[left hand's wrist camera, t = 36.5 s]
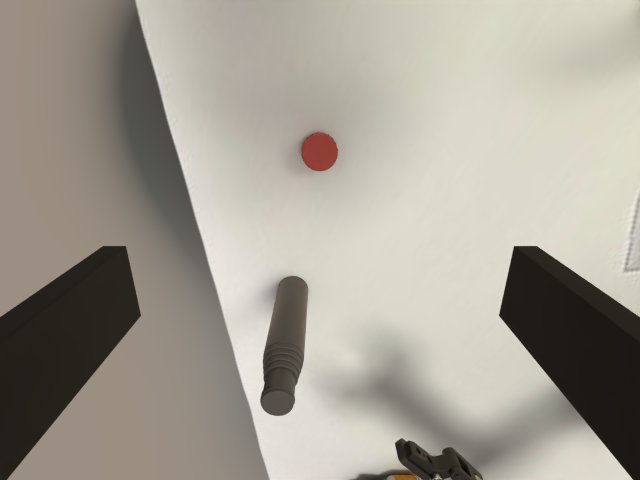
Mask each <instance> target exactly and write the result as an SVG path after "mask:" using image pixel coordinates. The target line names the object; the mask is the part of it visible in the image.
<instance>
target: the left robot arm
mask: <svg viewBox="0 0 640 480" xmlns="http://www.w3.org/2000/svg"><path fill="white" fill-rule="evenodd" d="M140 316H141V314H140V309H139V305H138V300H137V295H136V291H135V286H134V282H133V277H132V272H131V268H130V263H129V259H128V254H127V249H126V246H103V247H101V248H100V249H98V250H97V251H95V252H94V253H93V254H91V255H90V256H88V257H87V258H85V259H84V260H83V261H81V262H80V263H78V264H77V265H75V266H74V267H72V268H71V269H69V270H68V271H67V272H65V273H64V274H62V275H61V276H59V277H58V278H56V279H55V280H53V281H52V282H51V283H49V284H48V285H46V286H45V287H43V288H42V289H40V290H39V291H38V292H36V293H35V294H33V295H32V296H30V297H29V298H28V299H26V300H25V301H23V302H22V303H20V304H19V305H17V306H16V307H14V308H13V309H11V310H10V311H9V312H7V313H6V314H4V315H3V316H1V317H0V480H7V479H8V478H9V476H10V475H11V474H12V473H13V471H14V470H15V469H16V468H17V467H18V465H19V464H20V463H21V462H22V460H23V459H24V458H25V457H26V456H27V454H28V453H29V452H30V451H31V449H32V448H33V447H34V446H35V445H36V443H37V442H38V441H39V440H40V438H41V437H42V436H43V435H44V434H45V432H46V431H47V430H48V429H49V427H50V426H51V425H52V424H53V422H54V421H55V420H56V419H57V418H58V416H59V415H60V414H61V413H62V411H63V410H64V409H65V408H66V407H67V405H68V404H69V403H70V402H71V400H72V399H73V398H74V397H75V396H76V394H77V393H78V392H79V391H80V389H81V388H82V387H83V386H84V385H85V383H86V382H87V381H88V380H89V378H90V377H91V376H92V375H93V373H94V372H95V371H96V370H97V369H98V367H99V366H100V365H101V364H102V363H103V361H104V360H105V359H106V358H107V356H108V355H109V354H110V353H111V352H112V350H113V349H114V348H115V347H116V345H117V344H118V343H119V342H120V340H121V339H122V338H123V337H124V336H125V334H126V333H127V332H128V331H129V330H130V328H131V327H132V326H133V325H134V323H135V322H136V321H137V320H138V318H139V317H140ZM499 316H500V317H501V319H502V320H503V321H504V322H505V323H506V325H507V326H508V327H509V328H510V330H511V331H512V332H513V333H514V334H515V336H516V337H517V338H518V339H519V341H520V342H521V343H522V344H523V345H524V347H525V348H526V349H527V350H528V352H529V353H530V354H531V355H532V356H533V358H534V359H535V360H536V361H537V363H538V364H539V365H540V366H541V367H542V369H543V370H544V371H545V372H546V374H547V375H548V376H549V377H550V378H551V380H552V381H553V382H554V383H555V385H556V386H557V387H558V388H559V389H560V391H561V392H562V393H563V394H564V396H565V397H566V398H567V399H568V400H569V402H570V403H571V404H572V405H573V407H574V408H575V409H576V410H577V412H578V413H579V414H580V415H581V416H582V418H583V419H584V420H585V421H586V423H587V424H588V425H589V426H590V427H591V429H592V430H593V431H594V432H595V434H596V435H597V436H598V437H599V438H600V440H601V441H602V442H603V443H604V445H605V446H606V447H607V448H608V449H609V451H610V452H611V453H612V454H613V456H614V457H615V458H616V459H617V460H618V462H619V463H620V464H621V465H622V467H623V468H624V469H625V470H626V471H627V473H628V474H629V475H630V476H631V478H632V479H633V480H640V317H639V316H637V315H636V314H634V313H633V312H631V311H630V310H629V309H627V308H626V307H624V306H623V305H621V304H620V303H618V302H617V301H616V300H614V299H613V298H611V297H610V296H608V295H607V294H605V293H604V292H602V291H601V290H600V289H598V288H597V287H595V286H594V285H592V284H591V283H589V282H588V281H587V280H585V279H584V278H582V277H581V276H579V275H578V274H576V273H575V272H573V271H572V270H571V269H569V268H568V267H566V266H565V265H563V264H562V263H560V262H559V261H558V260H556V259H555V258H553V257H552V256H550V255H549V254H547V253H546V252H545V251H543V250H542V249H540V248H539V247H537V246H514V249H513V254H512V258H511V263H510V268H509V272H508V277H507V281H506V286H505V291H504V295H503V300H502V304H501V309H500V314H499Z"/></svg>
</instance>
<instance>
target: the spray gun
mask: <svg viewBox="0 0 640 480" xmlns="http://www.w3.org/2000/svg"><path fill="white" fill-rule="evenodd" d="M383 480H419V478H418V477H417V476H416V475H390V476H388V478H387V479H383Z"/></svg>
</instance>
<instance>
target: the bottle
mask: <svg viewBox="0 0 640 480" xmlns="http://www.w3.org/2000/svg"><path fill="white" fill-rule="evenodd" d="M307 300H308V286H307V284H306V283H305V281H304V280H302V279H301V278H299V277H295V276H291V277H287V278H285V279H283V280H282V281H281V282H280V284H279V287H278V291H277V296H276V300H275V305H274V309H273V314H272V319H271V323H270V328H269V332H268V337H267V341H266V346H265V351H264V356H263V370H264V371H263V373H264V382H265V384H264V389H263V392H262V395H261V400H260V402H261V406H262V408H263V409H264V411H266V412H267V413H269V414H271V415H275V416H281V415H285V414H287V413H289V412H290V411H291V410H292V408H293V405H294V402H295V396H294V393H295V386H296V384H297V382H298V378H299V375H300V372H301V369H302V366H303V361H304V348H305V332H306V316H307Z"/></svg>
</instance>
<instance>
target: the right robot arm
mask: <svg viewBox="0 0 640 480" xmlns="http://www.w3.org/2000/svg"><path fill="white" fill-rule="evenodd" d="M395 446H396V450H397V455H398V459H399V461H400V462H401V464H402V465H404V466H405V467H406V468H408V469H409V470H410V471H412V472H413V473H414V474H416V475H417V476H419V477H420V478H421V479H423V480H443V479H446V478H449V477H451V479H452V480H483V478H482V476H481V474H480V473H479V472H478V471H477V470H476V469H475V468H474V467H473V466H471V465H470V464H469V463H468V462H467V461H466V460H465V459H464V458H463V457H462V456H461V455H460V454H459V453H458V452H456V451H455V450H454V449H453V448H451V447H448V448H445V449H444V450H443V451H442V455H439V456H435V455H434V454H428V453H427V452H426V451H425V450H423V449H422V448H421V447H419V446H418V445H417V444H416V443H414V442H412V441H408V442H406V441H405V440H404V439H402V438H401V439H400V440H398V441H397V442H395Z"/></svg>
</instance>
